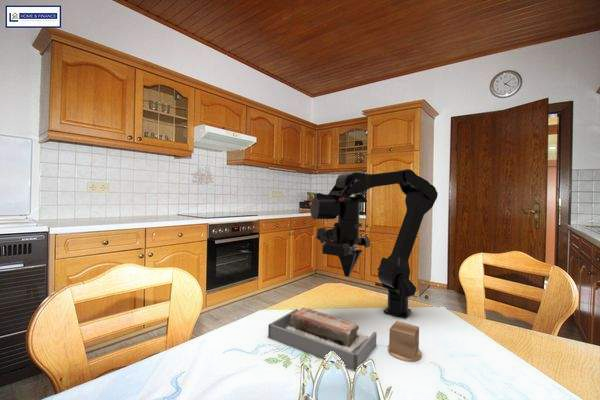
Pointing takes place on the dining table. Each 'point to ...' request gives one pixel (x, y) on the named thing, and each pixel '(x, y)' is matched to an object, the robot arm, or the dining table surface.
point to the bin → (318, 343)
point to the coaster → (417, 357)
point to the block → (404, 339)
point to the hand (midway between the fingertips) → (347, 276)
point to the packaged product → (327, 329)
